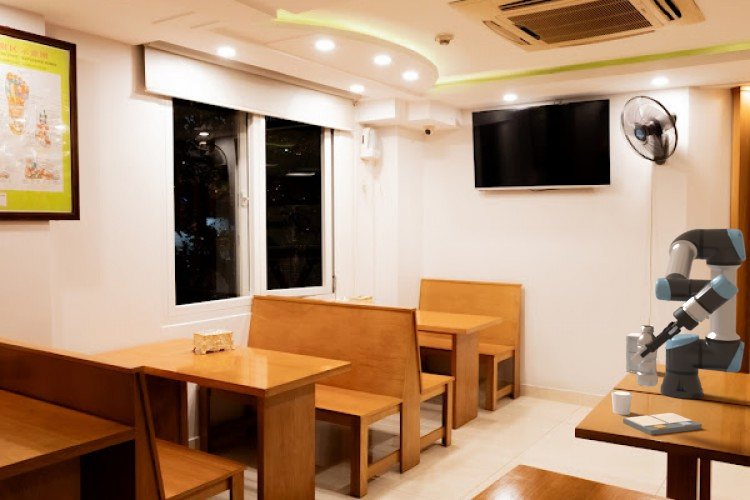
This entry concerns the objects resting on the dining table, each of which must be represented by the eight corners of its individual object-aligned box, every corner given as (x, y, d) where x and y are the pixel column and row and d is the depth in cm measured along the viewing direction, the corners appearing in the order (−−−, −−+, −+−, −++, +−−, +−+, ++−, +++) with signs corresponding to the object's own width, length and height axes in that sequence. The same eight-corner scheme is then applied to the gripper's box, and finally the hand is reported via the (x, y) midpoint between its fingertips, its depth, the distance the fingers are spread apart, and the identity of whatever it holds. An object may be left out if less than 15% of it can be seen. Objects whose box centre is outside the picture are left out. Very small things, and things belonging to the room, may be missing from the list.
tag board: (671, 417, 218) (671, 412, 218) (701, 428, 206) (701, 423, 205) (623, 422, 212) (623, 417, 212) (650, 435, 200) (650, 429, 200)
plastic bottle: (632, 384, 211) (632, 324, 210) (651, 383, 212) (652, 324, 211) (642, 389, 205) (642, 328, 204) (662, 388, 205) (662, 327, 204)
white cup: (633, 415, 220) (633, 396, 220) (612, 414, 221) (613, 395, 221) (629, 410, 226) (630, 390, 226) (609, 409, 228) (609, 390, 228)
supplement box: (653, 371, 286) (654, 334, 286) (647, 375, 279) (648, 337, 279) (631, 368, 292) (632, 332, 292) (625, 372, 285) (625, 334, 285)
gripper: (698, 327, 192) (640, 375, 200) (701, 319, 208) (647, 363, 217) (679, 309, 194) (622, 356, 203) (683, 302, 211) (630, 346, 219)
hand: (635, 360), depth 210 cm, fingers closed on plastic bottle, 6 cm apart
